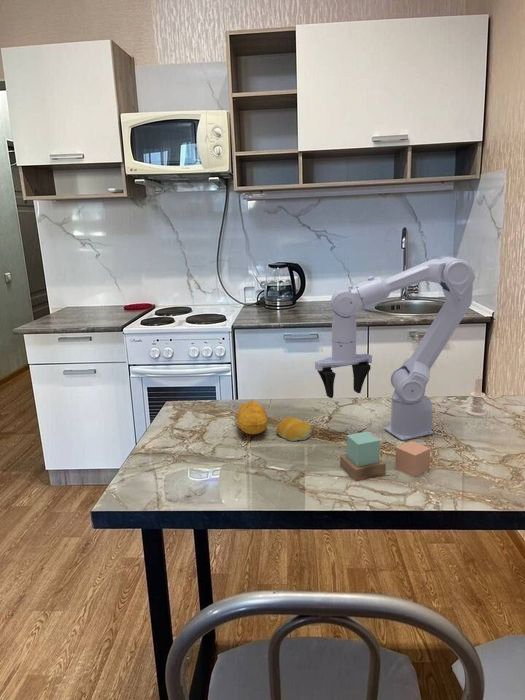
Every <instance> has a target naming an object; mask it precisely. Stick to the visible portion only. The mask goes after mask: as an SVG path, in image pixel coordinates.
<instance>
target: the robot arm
mask: <svg viewBox="0 0 525 700" xmlns="http://www.w3.org/2000/svg"><path fill="white" fill-rule="evenodd" d="M475 281H476V275H475V272H474V270H473V267H472V265H471V264H470V263H469V262H468V261H467V260H465V259H462V258H456V257H455V256H452V255H442V256H440V257H438V258H433V259H430V260H427V261H424V262H423V263H420V264H417V265H415V266H413V267H411V268H408V269H406V270H404V271H401V272H399V273H397V274H395V275H392V276H390V277H388V278H383V277H381V276H373V275H370V276H368V277H367V280H365V281H363V282H360V283H358V284H355V285H353V284H349V285H348V286H347V287H348V289H347V288H346V289H345V288H342V289H341V288H340V289H337V290H336V291H335V292H334V294H332V296H331V299H330V306H331V308H332V309H333V311H332V316H331V317H332V321H331V356H330V357H326V358H324V359H320V360H315V361H314V369H315V370H316V371H317V373H318V374H319V376H320V379H321V380H322V383H323V386H324V390H325V395H326V397H328V398H329V399H333V398H334V391H335V390H334V387H335V386H334V384H335V379H336V375H337V373H335V372H334V371H333V369H334V368H341V367H347V366H348V367H349V366H351V368H352V374H353V375H352V376H353V384H352V385H353V391H354V392H355V393H357V394H361V393H362V388H363V386H364V382H365V379H366V378H367V376H368V375H369V372H371V369H372V367H371V365H370V364H372V362H373V355H372V354H370V353H359V354H358V353H357V312H358V311H359V310H362V309H366V308H369V307H371V306H374V305H376V304H378V303H381V302H384V301H387V300H388V298H389V296H390V295H391V293H393V292H395V291H398V290H402V289H404V288H408V287H409V286H410V287H411V286H413V285H416V284H420V283H422V282H428V283H429V282H430V283H435V284H436V283H437V284H439V285H440V287H441V289H442V292H443V295H444V297H445V301H444V303H443V305H442V306H441V308H440V310H439V311H438V313H437V315H436V316H435V317H434V319H433V321H432V322H431V325H429V327H428V328H427V330H426V332H425V334H424V335H423V337H422V339H421V340H420V342H419V344H418V345H417V347H416V348H415V350H414V351H413V353H412V354H411V356H410V357H409V358H407V359H405V360H404V361H403V363H402V364H401V366H400V367H398V368H397V369H395V370H393V372H392V373H391V377H390V384H391V386H392V387H393V388H394V391H393V393H392V394H391V413H390V414H391V416H390V417H391V418H390V425H386V426H383V430H385V431H386V432H387V433H389V434H391V435H392V436H393V437H394V436H395V437H396V438H397V439H398V440H401V441H406V440H411V439H415V438H420V437H425V436H428V435H433V434H435V433H434V432H435V431H434V430H433V429H432V428H433V411H434V410H433V404H432V401H431V399H430V398H429V397H428V396H427V395H425V394H426V386H427V384H428V383H429V381H430V377H431V376H430V375H431V368H432V367H433V366H434V364H435V363H436V361H437V359H438V358H439V356H440V355H441V353H442V351H443V350H444V348H445V347H446V345H447V343H448V342H449V340H450V339H451V337H452V335H453V334H454V333H455V330H456V329H457V327H458V326H459V324H460V323H461V321H462V320H463V318H464V316H465V315H466V314H467V312H468V310H469V308H470V307H471V305H472V303H473V290H474V288H473V287H474V282H475Z"/></svg>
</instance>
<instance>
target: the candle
mask: <svg viewBox="0 0 525 700" xmlns="http://www.w3.org/2000/svg"><path fill="white" fill-rule="evenodd" d="M482 380H483V378H482V377H481V378H480V377H476V378H475V382H474V391H471V392H470V393H469V395H470V396H471V397H473V398H472V402H471V403H470V405H469V406H470V407H469V408H467V409H465V413H466V415H468V416H470V417H475V418H481V417H486V416H487V414H488V412H487V411H486V410H485V409H483V408H484V404H483V403H482V402H483V398H484V397H485V396H486V393H484V392H482V387H483V386H482V383H483V382H482Z"/></svg>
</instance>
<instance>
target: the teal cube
mask: <svg viewBox="0 0 525 700" xmlns="http://www.w3.org/2000/svg"><path fill="white" fill-rule="evenodd" d="M380 441H381V440H380V439H379V438H377V437H376V436H374V435H373V434H372V433H371V432H369V431H363V432H357V433H352V434H347V435H346V454H347V457H348V458H349V459H350V460H351V461H352V462H353V463H354V464H355V465H357V466H358V467H359V466H364V465H369V464H374V463H379V459H380V450H381V449H380V448H381V447H380Z"/></svg>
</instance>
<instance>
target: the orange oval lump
mask: <svg viewBox="0 0 525 700" xmlns="http://www.w3.org/2000/svg"><path fill="white" fill-rule="evenodd" d="M236 422H237V427H238V428H239V430H241V431H243V432H244V433H245V434H249V435H258V434H260V433H262V432H265V430H266V429H267V426H268V415H267V412H266V410H265V408H264V406H262V405H261V404H260V403H259V402H258V401H256V400H255V401H254V400H253V401H252V400H251V401H246V402H244V403H242V404H241V405H240V406H238V410H237V414H236Z"/></svg>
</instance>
